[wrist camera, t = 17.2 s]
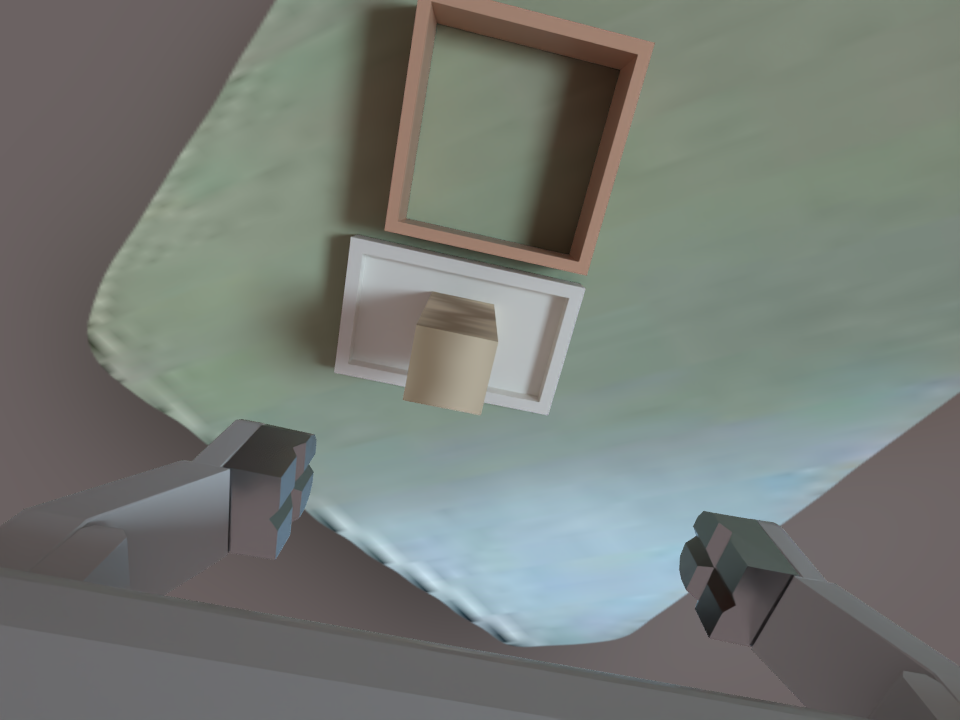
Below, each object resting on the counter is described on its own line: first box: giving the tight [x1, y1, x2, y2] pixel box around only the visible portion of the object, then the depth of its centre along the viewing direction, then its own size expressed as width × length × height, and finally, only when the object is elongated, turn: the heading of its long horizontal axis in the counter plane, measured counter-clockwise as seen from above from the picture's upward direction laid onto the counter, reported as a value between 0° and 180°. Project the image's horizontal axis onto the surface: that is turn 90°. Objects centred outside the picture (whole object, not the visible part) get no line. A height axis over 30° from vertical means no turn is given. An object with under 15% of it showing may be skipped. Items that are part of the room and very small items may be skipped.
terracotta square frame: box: [384, 0, 655, 275], centre depth 33 cm, size 15×15×4 cm
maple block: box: [403, 291, 498, 415], centre depth 34 cm, size 5×5×10 cm
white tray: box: [334, 234, 585, 415], centre depth 38 cm, size 18×11×2 cm, turn 78°
